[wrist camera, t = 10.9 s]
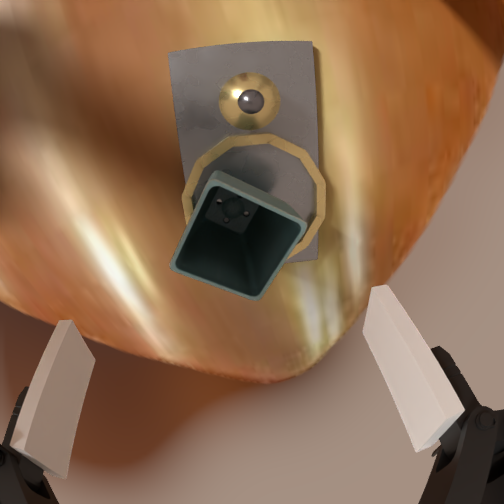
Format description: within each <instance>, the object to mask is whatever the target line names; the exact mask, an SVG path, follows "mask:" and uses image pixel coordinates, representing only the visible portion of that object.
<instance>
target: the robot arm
mask: <svg viewBox="0 0 504 504" xmlns="http://www.w3.org/2000/svg"><path fill="white" fill-rule="evenodd" d="M362 333H363V335H364V337H365V339H366V341H367V343H368V345H369V348H370V350H371V352H372V354H373V356H374V358H375V360H376V362H377V364H378V366H379V369H380V371H381V373H382V375H383V377H384V379H385V382H386V384H387V386H388V388H389V390H390V393H391V395H392V397H393V399H394V402H395V404H396V406H397V408H398V411H399V413H400V416H401V418H402V420H403V423H404V425H405V427H406V430H407V432H408V435H409V437H410V439H411V442H412V444H413V447H414V449H415V452H419V451H421V450H423V449H426V448H428V447H430V446H432V445H434V443H436V441H437V440H438V439H439V440H440V442H441V445H440V446H439V447H438V448H437V449H436V450H435V451H434V452H433V454H432V456H435V455H436V454H437V456H436V460H435V462H434V465H433V469H432V471H431V474H430V476H429V479H428V482H427V484H426V487H425V489H424V492H423V494H422V497H421V499H420V501H419V503H418V504H504V409H503V410H497V411H493V410H492V409H490V408H488V407H486V406H482V405H480V403H479V402H478V401H477V399H476V397H475V395H474V394H473V392H472V390H471V388H470V387H469V385H468V383H467V382H466V380H465V378H464V377H463V375H462V374H461V373H460V370H459V368H458V367H457V366H456V365H455V362H454V360H453V359H452V357H451V356H450V354H449V353H448V352H446V351H445V350H444V349H443V348H441V347H440V346H438V347H435V348H432V349H430V348H429V347H428V345H427V343H426V342H425V340H424V339H423V337H422V336H421V334H420V332H419V331H418V329H417V328H416V326H415V325H414V323H413V322H412V320H411V319H410V317H409V316H408V314H407V313H406V311H405V310H404V308H403V307H402V305H401V304H400V302H399V301H398V300H397V298H396V296H395V295H394V294H393V292H392V291H391V289H390V288H389V286H388V285H381V286H376V287H372V288H371V293H370V298H369V303H368V308H367V313H366V318H365V323H364V327H363V331H362ZM94 363H95V358H94V357H93V355H92V353H91V352H90V350H89V349H88V347H87V345H86V344H85V342H84V340H83V338H82V337H81V335H80V333H79V331H78V330H77V328H76V326H75V324H74V322H73V321H72V320H59V322H58V324H57V326H56V328H55V331H54V332H53V334H52V336H51V338H50V341H49V343H48V345H47V347H46V349H45V351H44V354H43V356H42V358H41V360H40V363H39V365H38V367H37V370H36V372H35V375H34V377H33V379H32V382H31V384H30V387H25V388H24V390H23V391H22V392H21V394H20V395H19V397H18V399H17V402H16V407H15V408H14V410H13V415H12V416H11V419H10V422H9V425H8V428H7V431H6V434H5V437H4V441H3V443H2V445H1V444H0V504H59V503H58V501H57V499H56V497H55V495H54V493H53V491H52V489H51V487H50V485H49V483H48V481H47V479H46V477H45V476H44V475H43V471H46V472H47V473H49V474H51V475H52V476H56V477H59V478H63V479H66V478H67V472H68V467H69V461H70V456H71V451H72V447H73V441H74V437H75V432H76V429H77V425H78V420H79V416H80V412H81V409H82V404H83V401H84V397H85V394H86V390H87V387H88V383H89V379H90V376H91V373H92V370H93V367H94Z"/></svg>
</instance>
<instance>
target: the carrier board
mask: <svg viewBox="0 0 504 504" xmlns="http://www.w3.org/2000/svg"><path fill="white" fill-rule="evenodd" d="M168 58H169V67H170V76H171V85H172V94H173V102H174V109H175V117H176V124H177V131H178V138H179V145H180V152H181V159H182V165H183V171H184V177H185V184H186V186H185V189H184V191H183V194H182V196H181V198H182V204H183V209H184V215H185V220H186V225H187V224H188V222H189V220H190V218H191V215H192V213H193V211H194V209H195V207H196V205H197V203H198V201H199V199H200V196H201V194H202V192H203V190H204V187H205V185H206V184H207V182H208V179H209V178H210V176H211V174H212V173H213V172H214V171H217V170H219V171H222V172H224V173H226V174H228V175H230V176H232V177H235V178H237V179H239V180H241V181H243V182H245V183H247V184H249V185H252V186H254V187H256V188H258V189H260V190H262V191H264V192H266V193H268V194H270V195H272V196H275V197H277V198H279V199H281V200H283V201H284V202H286V203H287V204H288V205H290V206H291V207H292V208H293V209H294V210H295V211H296V212H297V213H298V214H299V215H300V216H301V218H302V219H303V220H304V221H305V222H306V223H307V225H308V226H307V229H306V231H305V233H304V234H303V236H302V237H301V239H300V240H299V242H298V243H297V245H296V246H295V248H294V249H293V251H292V252H291V253H290V255H289V256H288V258H287V260H286V261H285V263H291V262H299V261H308V260H316V259H318V229H319V227H320V225H321V224H322V222H323V220H324V219H325V213H326V182H325V180H324V178H323V177H322V175H321V173H320V172H319V163H318V125H317V102H316V85H315V70H314V57H313V45H312V41H265V42H247V43H234V44H224V45H215V46H207V47H199V48H193V49H186V50H180V51H175V52H170V53H168ZM237 196H238V197H241V196H239V195H237ZM221 202H222V201H221V199H218V200H217V203H218V204H220V203H221ZM248 214H249V213H248V212H244V215H245V216H247V215H248ZM224 221H225V222H228V221H229V219H228V218H225V219H224Z"/></svg>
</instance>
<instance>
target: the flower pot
mask: <svg viewBox="0 0 504 504" xmlns="http://www.w3.org/2000/svg"><path fill="white" fill-rule="evenodd" d="M237 195H239V196H241V197H238V196H237ZM218 199H221V201H222V202H221V203H220V204H218V203H217V200H218ZM244 212H248V213H249V214H248V215H247V216H245V215H244ZM225 218H228V219H229V221H228V222H225V221H224V219H225ZM307 226H308V225H307V223H306V222H305V221H304V220H303V219H302V218H301V216H300V215H299V214H298V213H297V212H296V211H295V210H294V209H293V208H292V207H291V206H290V205H288V204H287V203H286V202H284V201H283V200H281V199H279V198H277V197H275V196H272V195H270V194H268V193H266V192H264V191H262V190H260V189H258V188H256V187H254V186H252V185H249V184H247V183H245V182H243V181H241V180H239V179H237V178H235V177H232V176H230V175H228V174H226V173H224V172H222V171H219V170H217V171H214V172H213V173H212V174H211V176H210V178H209V179H208V182H207V184H206V185H205V187H204V190H203V192H202V194H201V196H200V199H199V201H198V203H197V205H196V207H195V209H194V211H193V213H192V215H191V218H190V220H189V222H188V224H187V226H186V228H185V231H184V233H183V235H182V237H181V239H180V241H179V244H178V246H177V248H176V250H175V253H174V255H173V257H172V260H171V262H170V269H171V270H172V271H174V272H177V273H179V274H182V275H184V276H187V277H190V278H192V279H196V280H198V281H201V282H204V283H207V284H210V285H212V286H215V287H217V288H220V289H223V290H226V291H228V292H231V293H234V294H237V295H239V296H242V297H244V298H247V299H249V300H254V301H258V300H260V299H261V298H262V297H263V295H264V294H265V292H266V290H267V289H268V287H269V286H270V284H271V283H272V281H273V280H274V278H275V277H276V275H277V273H278V272H279V271H280V269H281V268H282V266H283V264H284V263H285V261H286V260H287V258H288V256H289V255H290V253H291V252H292V251H293V249H294V248H295V246H296V245H297V243H298V242H299V240H300V239H301V237H302V236H303V234H304V233H305V231H306V229H307Z"/></svg>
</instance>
